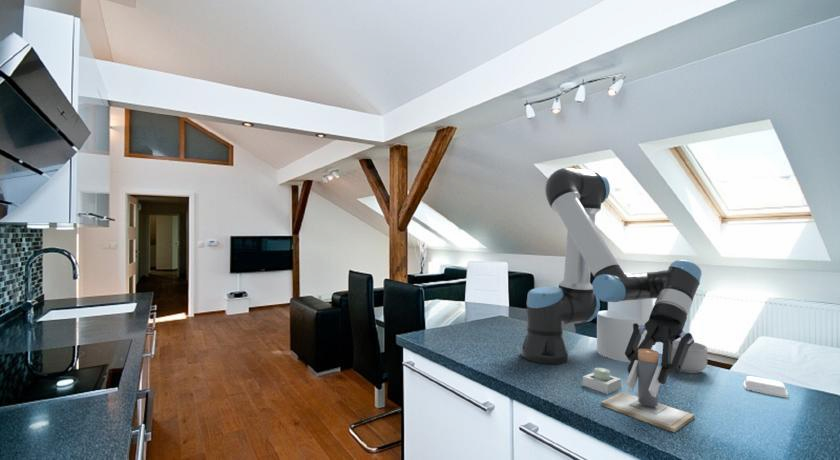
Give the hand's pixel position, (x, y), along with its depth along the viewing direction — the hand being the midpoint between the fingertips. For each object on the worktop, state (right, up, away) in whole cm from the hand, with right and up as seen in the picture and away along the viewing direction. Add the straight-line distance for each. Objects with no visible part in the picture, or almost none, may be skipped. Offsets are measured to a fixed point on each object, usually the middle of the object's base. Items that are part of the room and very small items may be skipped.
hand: (640, 389), depth 89 cm
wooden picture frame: (+2, -6, +1) cm, 6 cm away
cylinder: (+20, -7, +46) cm, 51 cm away
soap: (+43, -7, +15) cm, 46 cm away
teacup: (+32, -7, +32) cm, 46 cm away
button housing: (-1, -6, +16) cm, 17 cm away
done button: (-1, -4, +16) cm, 17 cm away
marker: (+3, -4, +2) cm, 5 cm away
